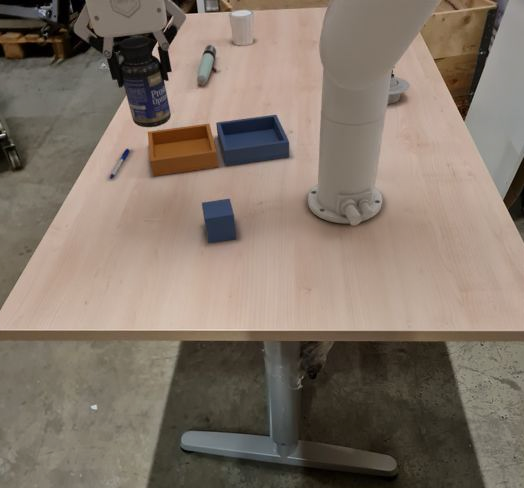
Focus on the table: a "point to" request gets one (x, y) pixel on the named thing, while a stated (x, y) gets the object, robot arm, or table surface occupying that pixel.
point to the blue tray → (252, 140)
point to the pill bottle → (144, 83)
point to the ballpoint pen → (120, 162)
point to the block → (219, 220)
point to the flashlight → (206, 64)
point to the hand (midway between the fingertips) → (143, 79)
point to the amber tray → (182, 149)
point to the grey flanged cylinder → (396, 88)
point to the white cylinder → (242, 26)
